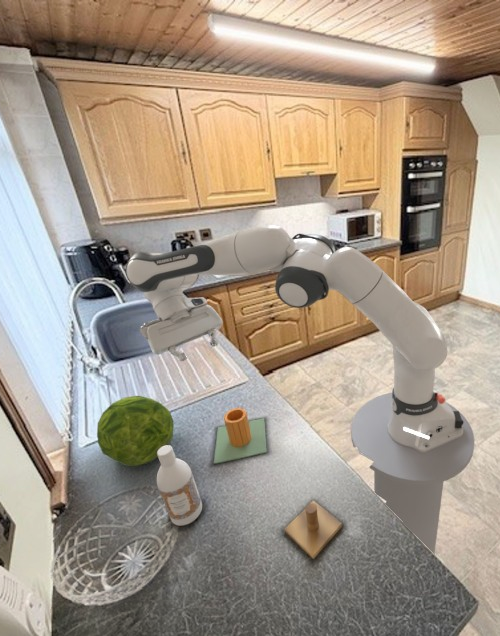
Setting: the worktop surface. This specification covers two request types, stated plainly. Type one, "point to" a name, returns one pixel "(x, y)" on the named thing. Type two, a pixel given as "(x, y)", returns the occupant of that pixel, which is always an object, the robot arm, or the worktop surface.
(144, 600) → the worktop surface
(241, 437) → the orange ribbed tube
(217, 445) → the mat
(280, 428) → the worktop surface
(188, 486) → the bath foam
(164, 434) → the lettuce
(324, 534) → the post
